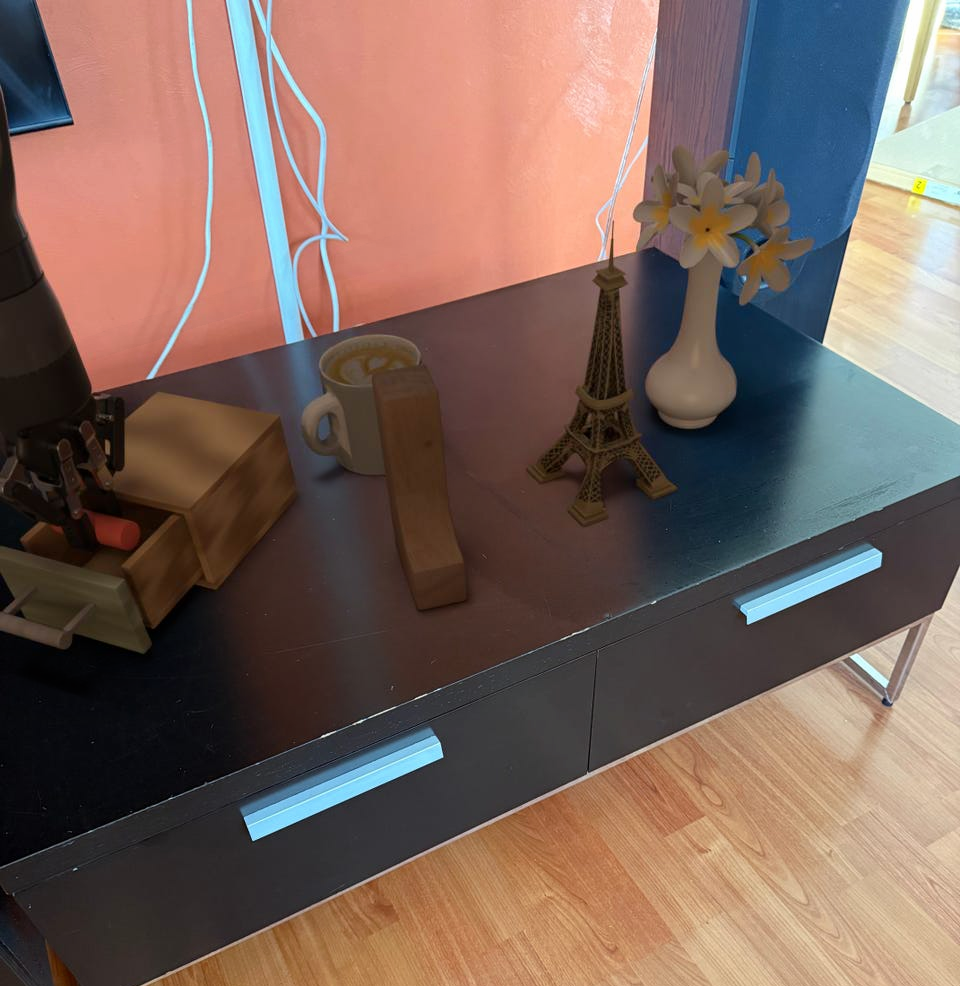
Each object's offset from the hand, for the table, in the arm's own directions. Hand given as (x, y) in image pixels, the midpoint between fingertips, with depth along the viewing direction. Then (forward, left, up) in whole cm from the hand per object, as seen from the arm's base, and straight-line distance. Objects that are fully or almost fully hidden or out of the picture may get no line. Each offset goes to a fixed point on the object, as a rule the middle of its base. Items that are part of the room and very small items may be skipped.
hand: (99, 536), depth 79 cm
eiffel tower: (+34, +30, -8) cm, 46 cm away
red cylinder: (0, +1, +1) cm, 1 cm away
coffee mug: (+10, +27, -8) cm, 30 cm away
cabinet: (0, +11, -7) cm, 13 cm away
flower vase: (+40, +44, -8) cm, 60 cm away
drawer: (0, -1, -6) cm, 7 cm away
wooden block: (+24, +12, -8) cm, 28 cm away
